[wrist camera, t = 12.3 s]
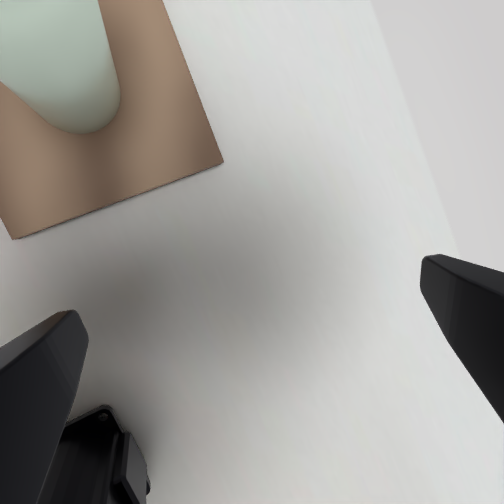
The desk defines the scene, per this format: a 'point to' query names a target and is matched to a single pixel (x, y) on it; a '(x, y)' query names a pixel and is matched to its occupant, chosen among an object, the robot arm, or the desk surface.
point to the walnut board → (108, 131)
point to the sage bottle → (59, 62)
